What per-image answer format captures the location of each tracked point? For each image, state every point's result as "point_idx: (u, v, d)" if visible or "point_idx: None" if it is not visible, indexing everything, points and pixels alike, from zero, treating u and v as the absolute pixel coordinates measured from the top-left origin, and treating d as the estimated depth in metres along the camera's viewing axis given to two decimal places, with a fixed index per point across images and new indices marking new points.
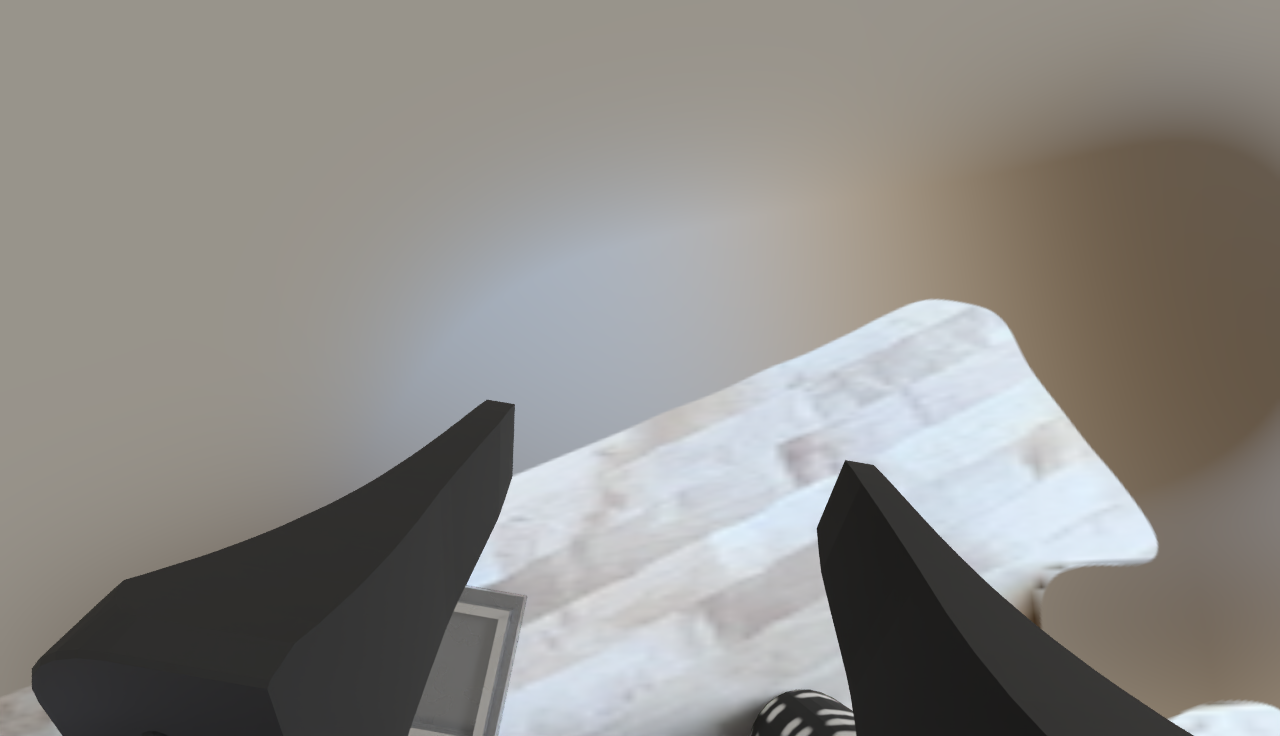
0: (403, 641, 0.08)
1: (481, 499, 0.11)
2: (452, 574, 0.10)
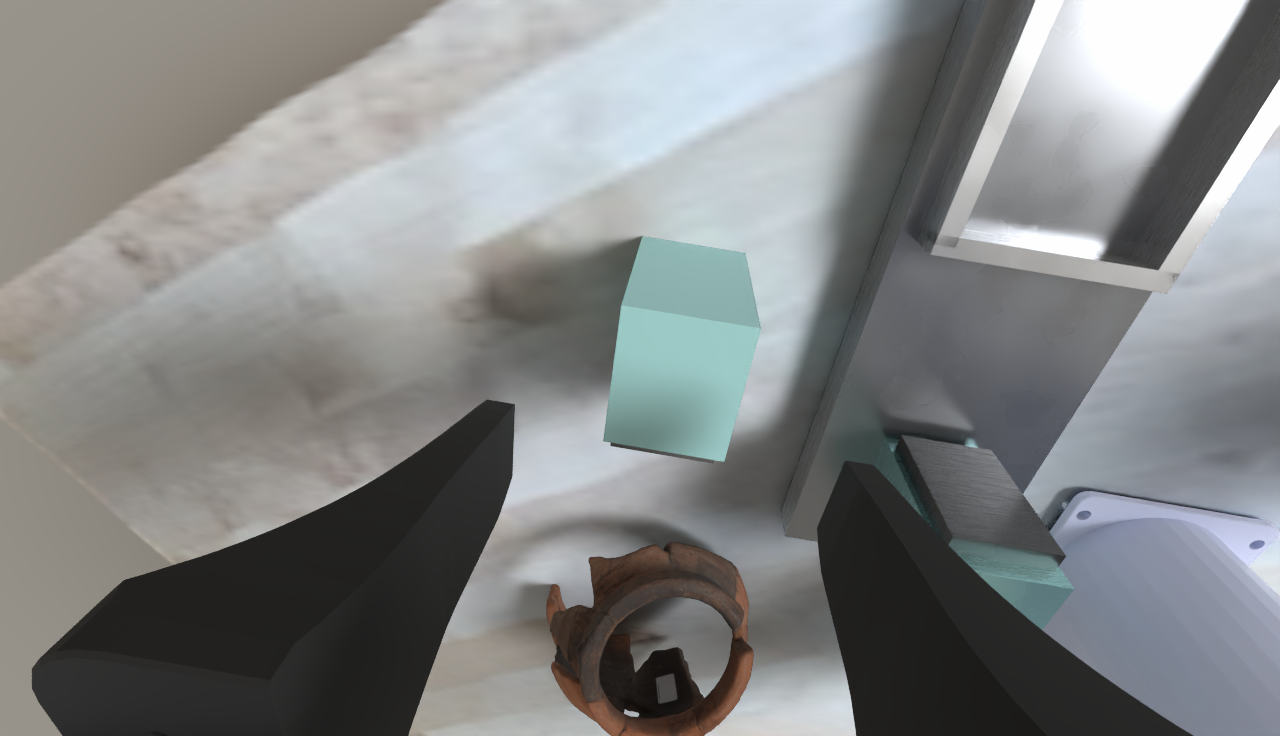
0: (403, 641, 0.08)
1: (481, 499, 0.11)
2: (452, 574, 0.10)
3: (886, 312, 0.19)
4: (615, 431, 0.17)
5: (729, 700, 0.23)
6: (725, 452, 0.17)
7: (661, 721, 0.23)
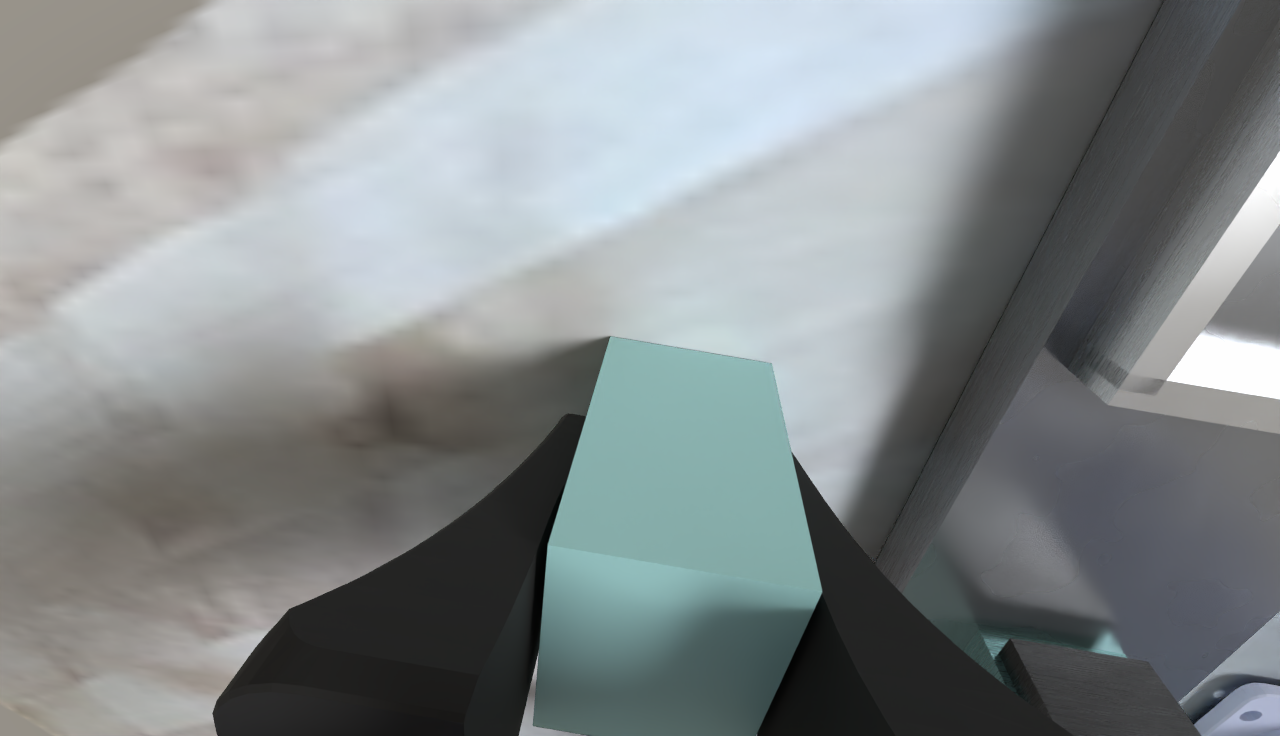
0: (522, 662, 0.08)
1: None
2: None
3: (1000, 469, 0.12)
4: (552, 716, 0.09)
5: None
6: None
7: None
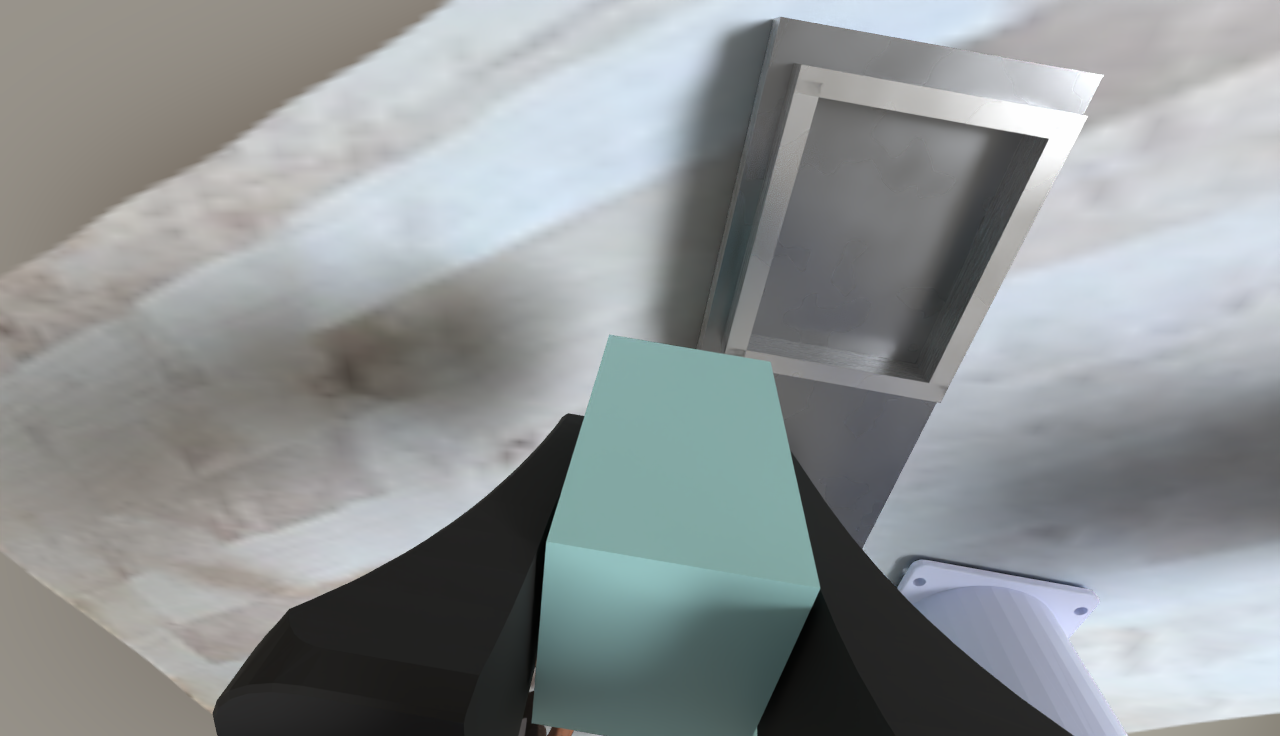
0: (522, 661, 0.08)
1: None
2: None
3: None
4: (551, 713, 0.09)
5: None
6: None
7: None
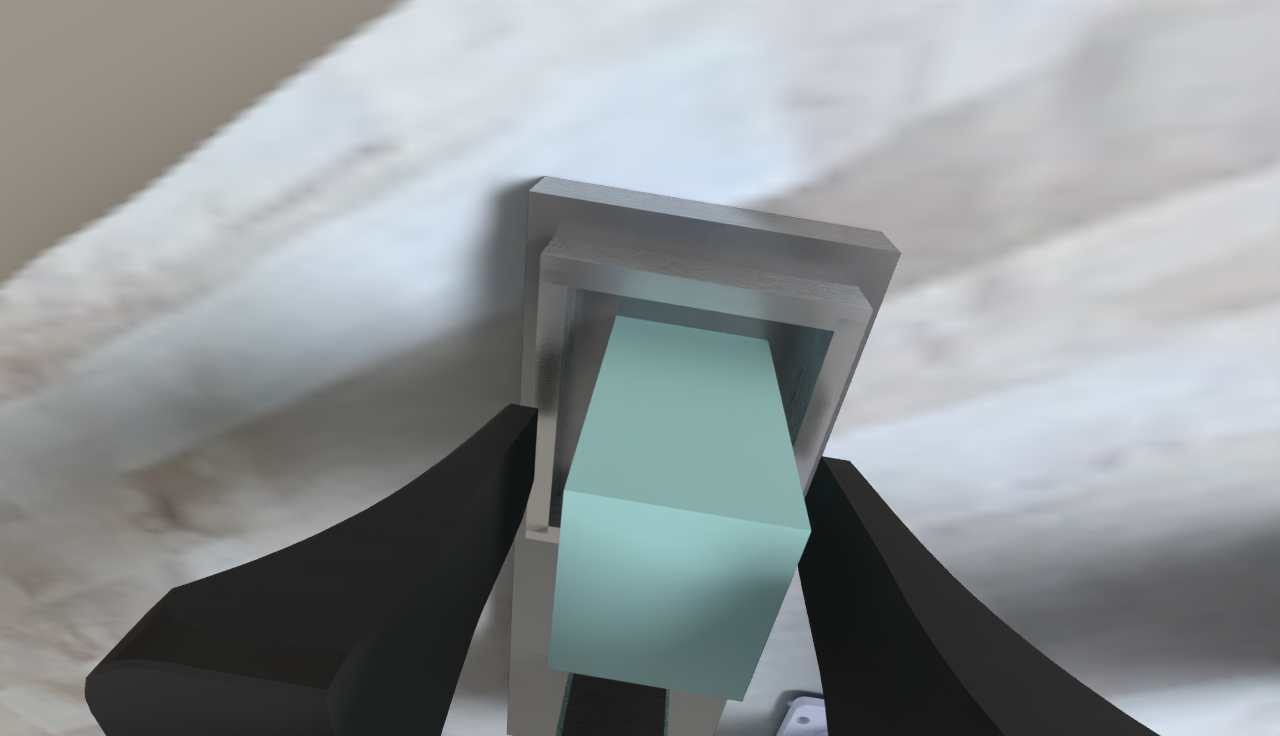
0: (438, 647, 0.08)
1: (507, 503, 0.11)
2: (480, 579, 0.10)
3: (530, 562, 0.18)
4: (566, 658, 0.10)
5: None
6: (744, 691, 0.10)
7: None
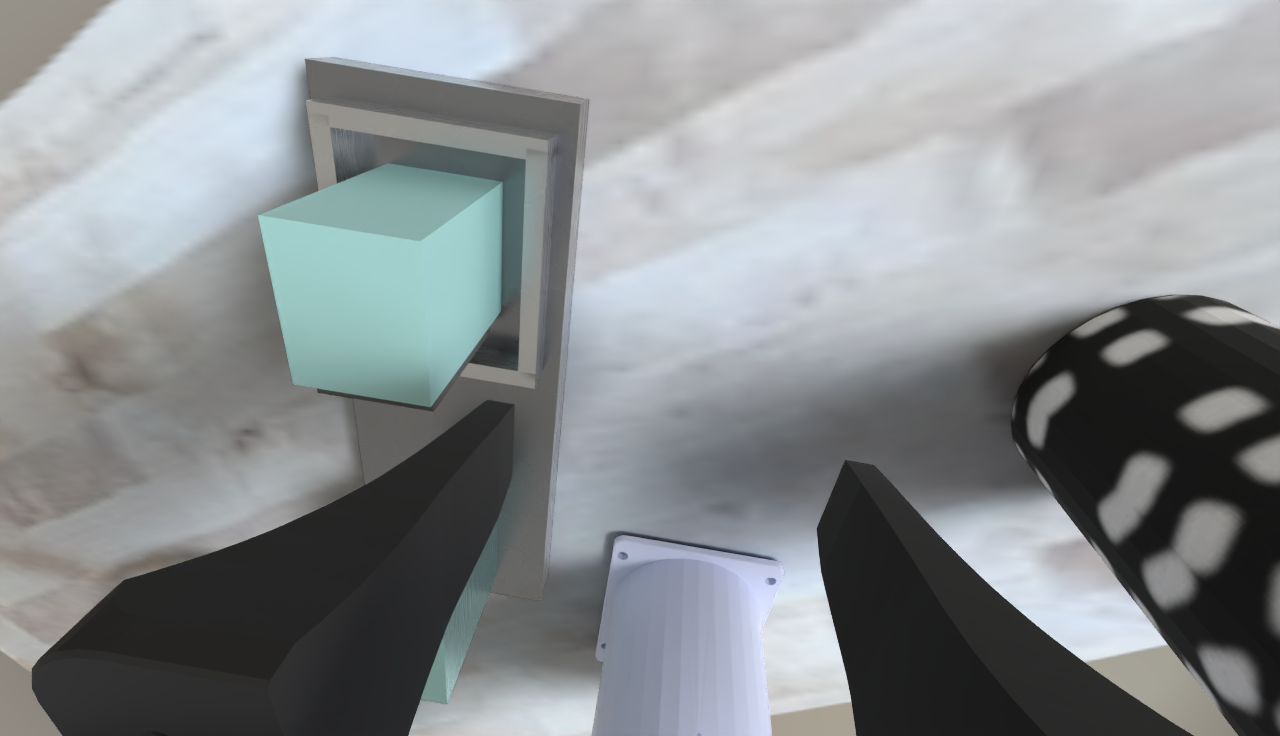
0: (403, 641, 0.08)
1: (481, 499, 0.11)
2: (452, 574, 0.10)
3: None
4: (302, 372, 0.14)
5: None
6: (428, 395, 0.14)
7: None
